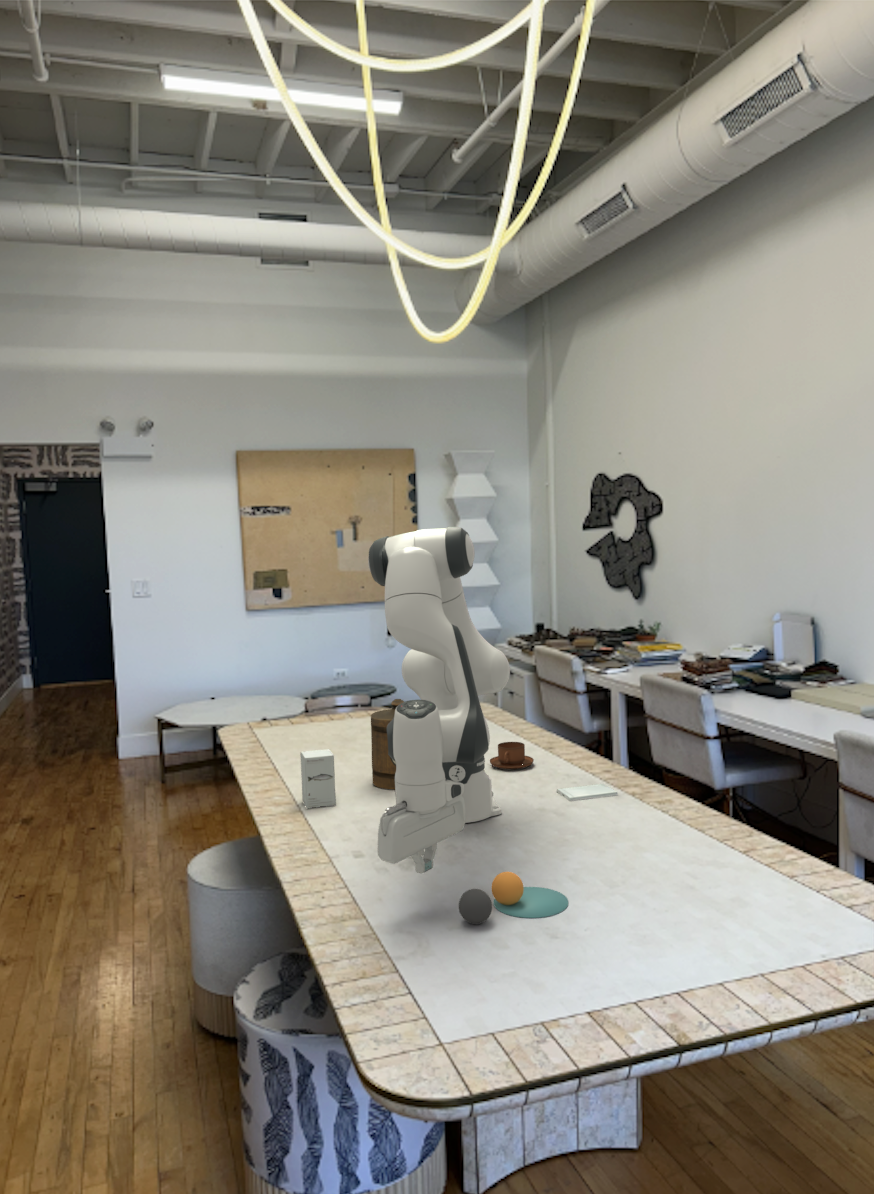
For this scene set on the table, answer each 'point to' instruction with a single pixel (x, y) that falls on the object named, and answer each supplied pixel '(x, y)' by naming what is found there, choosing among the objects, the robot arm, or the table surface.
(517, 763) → the cup and saucer
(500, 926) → the table surface
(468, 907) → the black ball
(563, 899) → the teal flat disc
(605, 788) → the hard drive
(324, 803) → the supplement box
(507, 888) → the orange ball
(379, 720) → the wooden container
